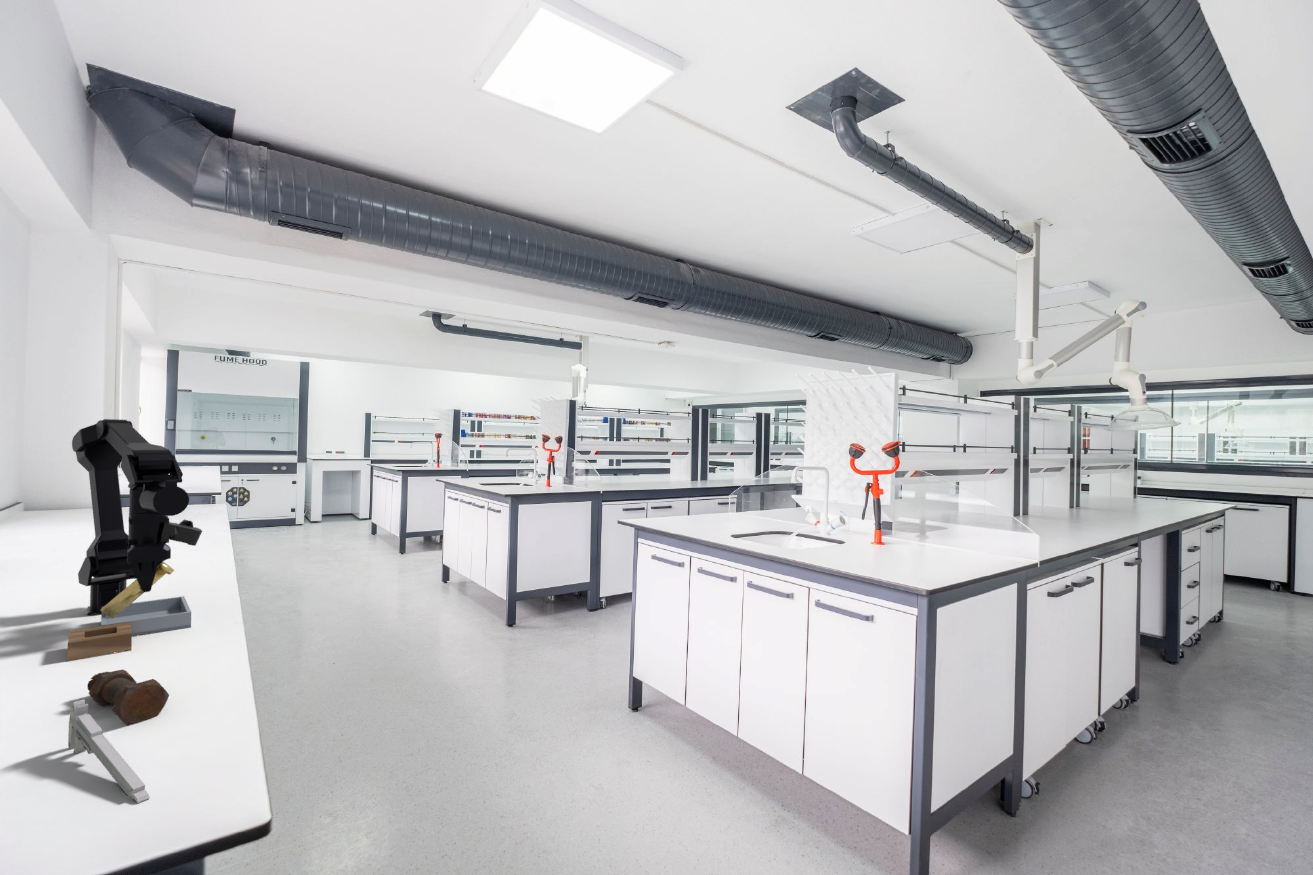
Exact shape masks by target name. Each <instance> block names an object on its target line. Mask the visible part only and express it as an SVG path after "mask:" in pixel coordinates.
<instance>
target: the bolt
mask: <svg viewBox="0 0 1313 875" xmlns="http://www.w3.org/2000/svg"><path fill="white" fill-rule="evenodd" d="M87 691H89V692H88V695H89V696H90V698H92V699H93V701H94V702H96V704H98V705H99V706H100V707H102V708H103V707H104V708H105V707H108V706H112V708H111V711H112V712H113V713H114V714H115V715H116V716H117V717H118V718H119V720H121V721H122V723H123V724H125V725H127V726H133V725H136V724H139V723H143V722H147V721H148V720H152V719H155V718H156V717H158V716H159V715H160V714H161V712H162V710H164V707H165V706H166V704H167V702H168V700H169V696H170V693H168V691H167V690H166V688H165V687H163V685H162V684H161V683H159V682H158V681H157V680H156V679H154V678H152V679H151V678H150V679H148V680H145V681H144V680H143V681H140V682H137V681H136V680H135V678H134V677H133V676H132V675H131V674H130V673H129V672H128V671H127V670H125V669H123V668H122V669H117V670H112V671H104V672H99V673H97V674H94V675H93V676H92V677H91V678H90V680H89V681H88V682H87Z"/></svg>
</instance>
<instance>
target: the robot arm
mask: <svg viewBox="0 0 1313 875" xmlns="http://www.w3.org/2000/svg"><path fill="white" fill-rule="evenodd" d="M71 448H72V451H73V452H74V453H75V456H76V460H77V463H79V464H80V465H81V466H82V467H83V468H84V469H85V470H86V471H87V472H88V477H89V478H88V479H89V487H90V488H89V489H90V498H91V506H92V508H91V509H92V516H93V526H94V535H95V536H94V539H93V540H92V542H91V543H90V545H89V547H88V548H87V549H86V552H85V553H86V556H85V558H84V560H83V562H82V564H81V566H80V567H79V570H78V573H77V576H78V584H79V585H80V584H81V585H82V586H85V587H90V588H89V589H90V590H89V591H90V592H89V594H90V595H89V605H88V606H87V610H86V615H87V616H91V615H99V614H102V612H101V609H102V607H104V606H105V605H107V604H108V603H109V602H110V601H111V600H112V599H114V598H115V597H116V596H117V595H118V594H120V593H121V592H122V591H123V590H124V589H126V588H127V587H128V586H127V581H128V580H132V579H133V580H136V579H137V581H138V583H139V585H140V587H141V589H142V591H143V592H144V593H148V592H149V593H150V592H151V591H152V587H153V586H154V584H153V581H154V578H155V574H156V571H157V568H158V565H159V564H161V563H162V562H165V561H166V560H169V559H171V556H172V554H171V553H172V548H171V546H170V545H169V543H170V541H173V542H178V543H184V544H187V545H189V546H197V543H198V541H199V539H200V536H201V535H202V532H203V530H202V529H201V528H199V527H197V526H195V527H194V522H193V521H192V520H188V519H183V520H181V521H179V523H177V522H171V521H170V517H171V516H174V517H175V516H177V515H179V514H181V513H183V512H184V511H185V510H186V509H187V508H188V506H189V503H190V497H189V494H188V492H187V491H186V490H185V489H183V488H182V487H180V486H178V483H179V484H180V483H183V478H182V477H183V471H182V469H181V467H180V465H179V462H178V461H177V459H176V458H177V457H176V456H175V455H174V454H173V452H172V451H171V450H170V449H169V448H166V447H165V446H163V445H158V444H152V443H150V442H149V441H148V440H147V439H146V438H145V437H144V436H142V435H141V433H139V432H138V431H137V430H136V429H135V428H134V426H133V423H132V421H130V420H128V419H115V418H114V419H113V418H112V419H110V418H104V419H99V420H98V421H97V422H96V423H95V424H91V425H89V426H86V427H83V428H81V429H79V430H78V431H77V432H76V433H75V434H74V435H73V437H72V441H71ZM119 466H121V470H122V472H123V475H124V476H125V479H126V480H127V481H128V483H129V484H128V486H127V488H129V498H128V502H129V503H128V521H127V522H128V533H126V531H125V525H124V523H125V522H124V517H123V516H124V514H123V505H122V498H121V497H122V496H121V489H120V487H121V486H120V481H119V480H120V479H119V471H118V470H119V468H118V467H119Z"/></svg>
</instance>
